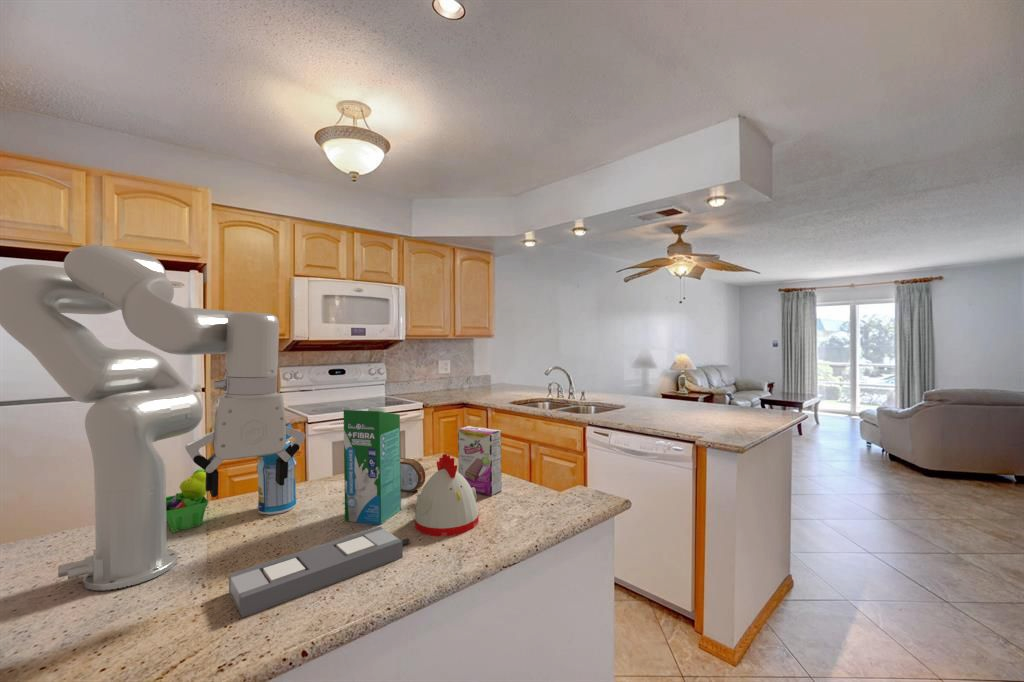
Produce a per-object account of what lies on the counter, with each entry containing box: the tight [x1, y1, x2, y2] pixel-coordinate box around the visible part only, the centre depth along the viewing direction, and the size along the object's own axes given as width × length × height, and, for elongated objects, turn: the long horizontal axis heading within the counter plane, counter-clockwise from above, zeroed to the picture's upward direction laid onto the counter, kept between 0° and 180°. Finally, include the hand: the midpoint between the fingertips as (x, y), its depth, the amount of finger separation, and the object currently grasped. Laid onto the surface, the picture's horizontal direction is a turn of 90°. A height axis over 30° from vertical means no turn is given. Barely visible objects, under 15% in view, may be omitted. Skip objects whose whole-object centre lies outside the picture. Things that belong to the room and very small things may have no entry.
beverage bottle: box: [256, 423, 297, 516], centre depth 107 cm, size 8×8×20 cm
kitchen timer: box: [414, 453, 480, 537], centre depth 98 cm, size 14×14×15 cm
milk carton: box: [343, 406, 402, 526], centre depth 102 cm, size 9×9×25 cm
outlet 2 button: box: [336, 536, 375, 557], centre depth 81 cm, size 5×5×2 cm
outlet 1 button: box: [263, 558, 305, 583], centre depth 73 cm, size 5×5×2 cm
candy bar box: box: [457, 425, 502, 497], centre depth 118 cm, size 11×5×16 cm, turn 58°
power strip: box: [228, 526, 411, 618], centre depth 78 cm, size 30×9×3 cm, turn 133°
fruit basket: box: [166, 468, 209, 533], centre depth 100 cm, size 11×9×11 cm
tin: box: [400, 457, 426, 493], centre depth 120 cm, size 15×3×8 cm, turn 68°
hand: (248, 488), depth 74 cm, fingers open, 9 cm apart
